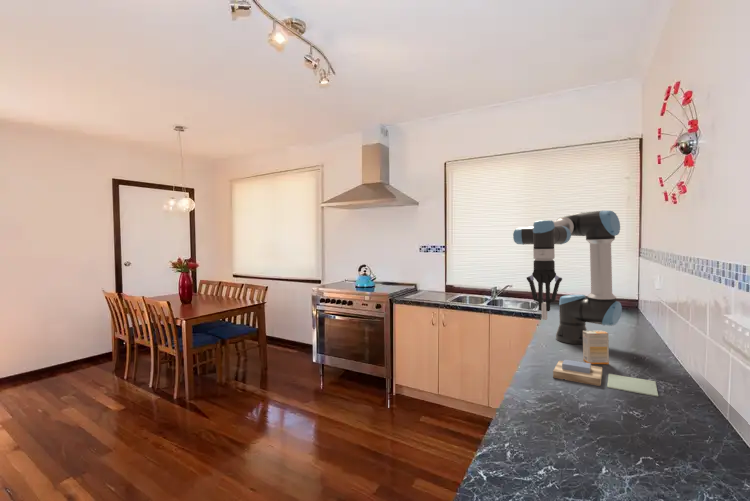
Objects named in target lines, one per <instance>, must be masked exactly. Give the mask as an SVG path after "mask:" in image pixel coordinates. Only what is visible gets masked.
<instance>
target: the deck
mask: <svg viewBox="0 0 750 501" xmlns="http://www.w3.org/2000/svg"><path fill="white" fill-rule="evenodd" d="M563 361H564V360H558V362H557V363H556V365H555V367H554V369H553V370H552V378H553V379H559V380H563V379H565V381H569V382H570V381H571V382H576V383H581V384H586V385H592V386H597V387H601V384H602V378H603V367H602V366H598V365H591V371H590V374H589V373H583V372H577V371H571V370H565V369H562V363H563Z"/></svg>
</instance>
